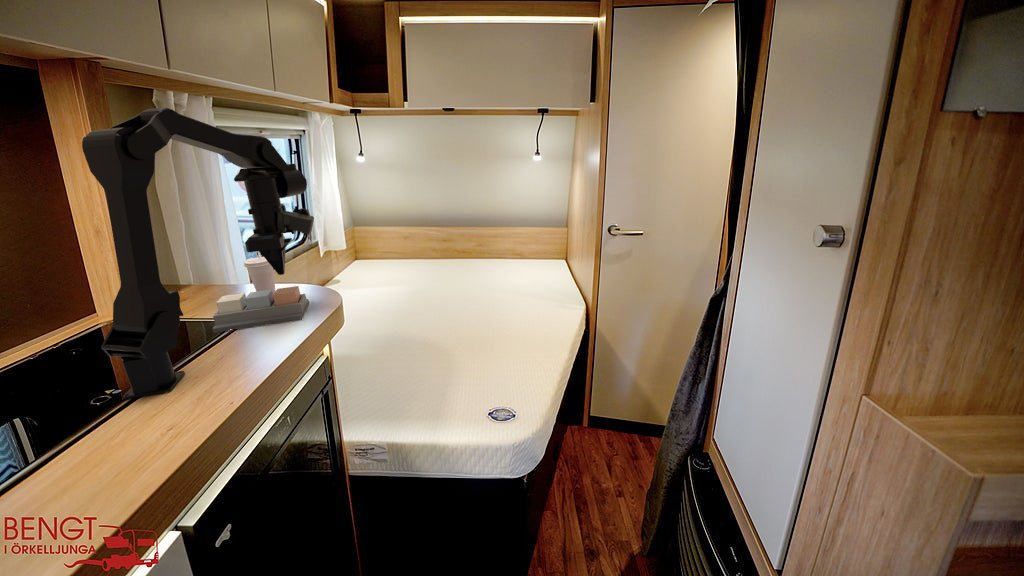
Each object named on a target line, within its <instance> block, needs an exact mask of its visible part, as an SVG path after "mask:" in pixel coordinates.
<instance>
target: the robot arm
mask: <svg viewBox="0 0 1024 576" xmlns="http://www.w3.org/2000/svg"><path fill="white" fill-rule="evenodd" d="M170 140H173V141H176V142H179V143H183V144H186V145H190V146H192V147H195V148H198V149H203V150H205V151H209V152H212V153H215V154H217V155H218V154H219V155H220V156H222V157H223V158H224V159H225V160H226V161H227V162H229V163H230V164H233V165H235V166H237V167H239V168H240V170H239V171H238V173H237V174H236V175H235V176H234V178H233V181H234V182H235V183H237V182H239V183H240V182H244V187H245V190H246V191H245V192H246V196H247V199H248V203H249V207H250V208H248V209H247V212H248V214H249V215H251V216H252V220H253V224H254V228H253V230H252V231H253V234H252V235H251V236H249V237H248V238H247V239H246V241H245V242H244V245H245V249H246V253H256V252H257V251H259V252H260V254H261V256H262V257H264V258H265V259H266V260H267V261H268V262H269V264H270V265H271V266H272V267H273V271H275V272H276V273H277V275H279V276H282V275H285V272H286V271H285V270H286V269H285V268H286V249H287V247H288V245H289V244H290V243H291V241H292V239H293V237H289V238H285V234H288V233H289V234H290V233H291V235H295V234H296V233H297V232H299V233H301V234H304V235H310V234H311V232H312V231H313V225H314V222H315V221H314V220H315V217H314V215H311V214H310V210H309V209H307V208H300V209H299V210H298V211H297V212H296V211H288V210H287V207H286V205H285V204H284V203H282V202H281V199H285V198H289V197H295V196H299V195H302V194H304V193H305V192H306V191H307V188H308V181H307V178H306V177H305V174H303V173H302V171H300V170H299V169H297V165H296V164H295V163H287V162H286V161H285V160H284V158H283V157H282V155H281V154H280V153H279V152H278V150H277V148H275V147H274V145H273V143H272V141H271V140H270V139H268V138H267V137H265V136H259V135H255V134H254V135H252V134H242V133H241V134H240V133H233V132H230V131H227V130H225V129H222V128H219V127H216V126H215V125H211V124H209V123H206V122H203V121H200V120H199V119H198V120H197V119H195V118H192V117H189V116H188V115H187V116H186V115H184V114H181V113H178V112H177V111H175V110H174V109H171V108H169V107H159V108H158V107H157V108H148V109H144V110H143V111H141V112H140V113H138V114H136V115H134V116H133V117H131V118H128V119H126V120H123V121H122V122H120V123H117V124H114V125H112V126H110V127H109V128H105V129H102V128H101V129H95V130H92V131H90V132H88V133H87V134H86V135H85V136H84V137H83V138H82V141H81V148H82V152H83V154H84V157H85V161H86V163H87V166H88V168H89V171H90V173H91V174H92V176H94V178H95V179H96V180H97V182H98V183H99V184H100V186H101V187H102V188H103V190H104V192H105V197H106V202H107V210H108V215H109V221H110V227H111V233H112V238H113V239H112V240H113V244H114V251H115V256H116V262H117V268H118V273H119V280H120V286H119V289H118V292H117V294H116V296H115V298H114V300H113V303H112V326H111V327H110V329H109V331H108V332H107V334H106V336H105V338H104V341H103V342H102V344H101V346H100V348H101V350H102V351H103V352H104V353H106V355H107V356H108V357H119V358H120V359H121V364H122V366H123V369H124V371H125V374H126V376H127V380H128V382H129V384H130V388H129V389H128V390H127V391H126V392H125V393H124V394H123V395H122V397H123V400H128V398H129V399H133V398H139V397H145V396H151V395H152V396H153V395H158V394H164V393H168V392H171V391H172V390H173V389H174V387H175V386H176V385H177V384H178V383H179V381H180V380H181V379H182V378H183V377H184V375H185V374H186V372H185V370H178V371H174V367H173V364H172V362H171V357H170V356H169V355H170V354H169V351H172V350H173V349H175V348H177V347H178V331H179V330H178V329H179V328H180V325H181V317H183V316H184V313H183V311H182V309H181V303H180V302H181V301H180V300H181V296H180V293H179V291H177V290H167V288H166V287H165V286H164V285H163V283H162V281H161V280H162V279H161V276H160V270H159V269H160V268H159V263H158V257H157V250H156V248H157V247H156V244H155V237H154V235H155V234H154V230H153V224H152V217H151V212H150V211H151V210H150V204H149V197H148V188H149V186H150V183H151V181H152V179H153V177H154V175H155V172H156V153H158V152H159V151H160V150H162V149H163V148H164V147H166V146H167V145H168V143H169V142H170ZM257 253H258V252H257Z"/></svg>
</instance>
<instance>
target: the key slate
mask: <svg viewBox="0 0 1024 576" xmlns="http://www.w3.org/2000/svg"><path fill="white" fill-rule="evenodd" d="M245 301H246V305H247V308H248V310H250V309H257V308H264V307H270V306H271V305H272V303H273V302H274V297H273V292H272V290H265V291H257V292H256V291H252V292H251V291H250V292H249V293H248V295H246V298H245Z"/></svg>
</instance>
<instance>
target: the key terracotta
mask: <svg viewBox="0 0 1024 576" xmlns="http://www.w3.org/2000/svg"><path fill="white" fill-rule="evenodd" d="M300 294H301V291H300V286H299V285H297V286H296V285H295V286H290V287H289V286H288V287H282V288H276V289H275V293H274V294H273V297H274V301H275V305H276V306H278V305H285V304H292V303H298V301H299V299H300V297H301V295H300Z"/></svg>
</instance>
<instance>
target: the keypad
mask: <svg viewBox="0 0 1024 576" xmlns="http://www.w3.org/2000/svg"><path fill="white" fill-rule="evenodd" d="M300 295H301V297H300V299H299V301H298V303H292V304H285V305H278V306H276V305H275V301H274V302H273V303H272V305H271V306H270V307H264V308H257V309H250V310H248V308H247V305H246V307H245V308H244V309H243V310H242V311H236V312H229V313H222V314H219V311H218V310H217V311H216V312H215V313H214V315H212V318H213V321H214V326H213V327H212V332H213V334H217V333H224V332H223V331H225V332H228V331H227V330H230V329H238V330H243V329H251V328H257V327H264V326H270V325H277V324H283V323H284V324H285V323H291V321H292V322H297V321H303V319H304V316H305V314H306V312H307V309H308V307H309V305H310V301H309V299H308V298H307V295H306V293H302V294H301V293H300Z"/></svg>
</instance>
